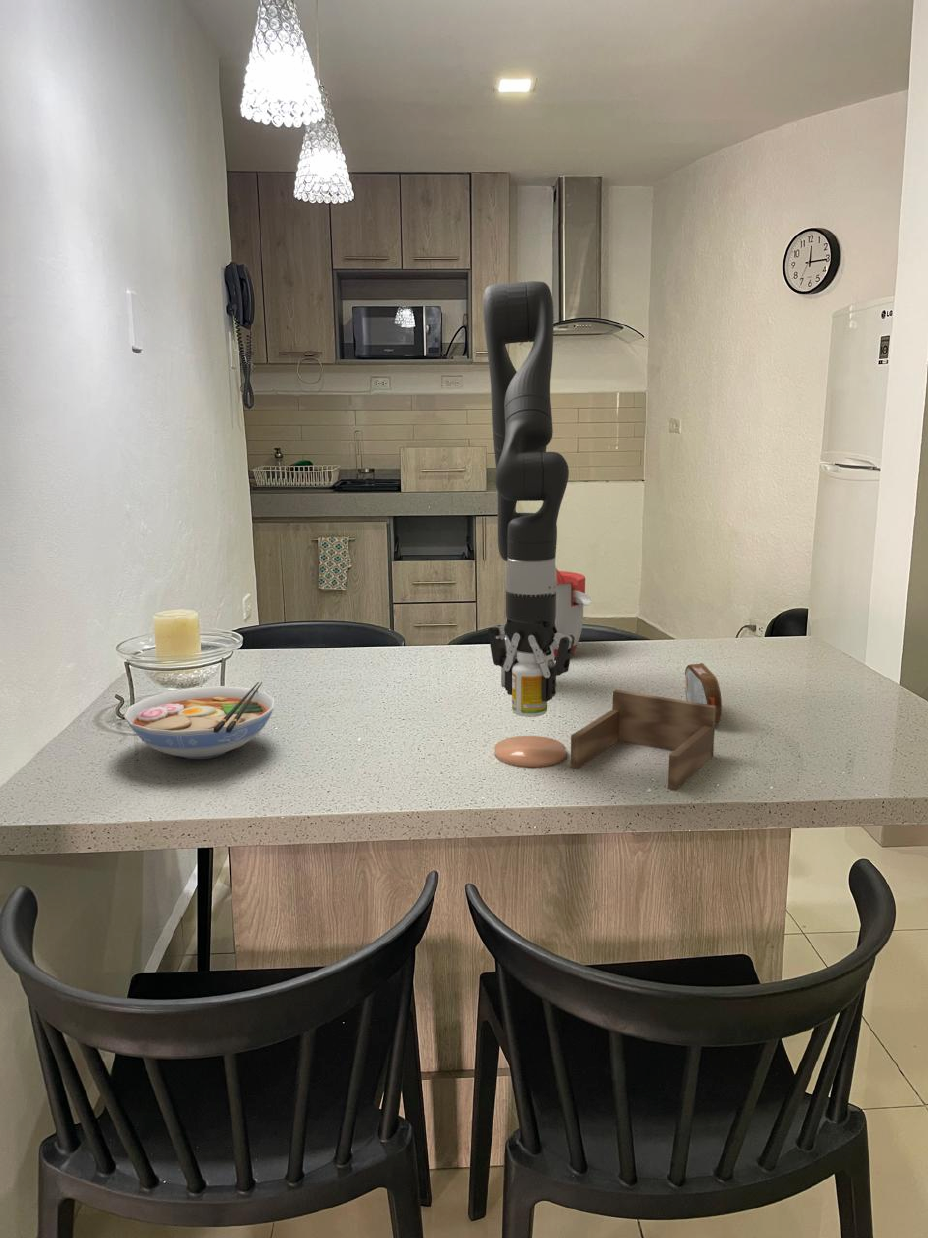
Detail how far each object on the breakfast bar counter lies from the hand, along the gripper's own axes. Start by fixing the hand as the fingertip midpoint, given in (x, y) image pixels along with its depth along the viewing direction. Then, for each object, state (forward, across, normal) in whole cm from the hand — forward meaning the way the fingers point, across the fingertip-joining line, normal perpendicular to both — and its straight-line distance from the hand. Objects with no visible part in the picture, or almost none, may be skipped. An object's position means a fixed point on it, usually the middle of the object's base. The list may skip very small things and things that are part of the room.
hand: (529, 696), depth 145 cm
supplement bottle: (+3, 0, 0) cm, 3 cm away
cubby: (+9, +16, +6) cm, 20 cm away
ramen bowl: (+10, -44, -26) cm, 52 cm away
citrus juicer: (+9, -26, +56) cm, 62 cm away
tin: (+10, +16, +32) cm, 37 cm away
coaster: (+9, 0, 0) cm, 9 cm away
